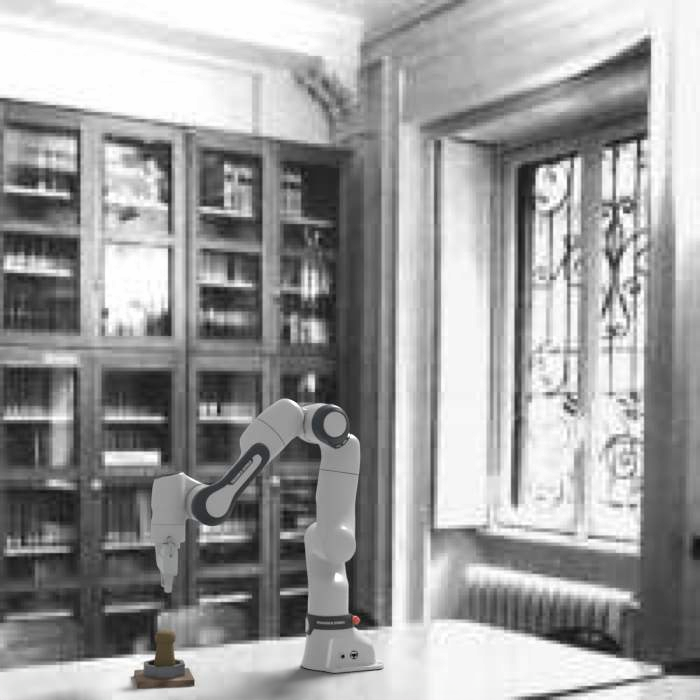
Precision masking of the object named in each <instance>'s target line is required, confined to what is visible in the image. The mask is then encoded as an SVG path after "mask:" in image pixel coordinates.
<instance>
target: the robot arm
mask: <svg viewBox="0 0 700 700" xmlns="http://www.w3.org/2000/svg"><path fill="white" fill-rule="evenodd" d="M349 419H350V418H349V417H348V415H347V413H346V411H345V410H344V409H343V408H341V406H340V407H339V406H338V405H335V404H331V403H330V404H329V403H321V402H320V403H313V404H304V405H299V404H298V403H297V402H295V400H292V399H289V398H280V399H279V400H277V401H275V402H274V403H273V404H271V405H269V406H268V407H267V408H266V409H264V410H263V411H262V412H261V413H260V414H258V415H257V417H255V418H254V419H253V420H252V422H251V423H250V424H249V425H248V426H247V427H246V429H245V430H244V431H243V432H242V434H241V436H240V438H239V448H240V455H239V457H238V459H237V460H236V462H235V463H234V464H233V465H232V466H231V467H230V469H229V470H227V472H226V473H225V474H224V475H223V476H222V478H221V479H220V480H218V481H216V482H214V483H212V484H210V485H209V484H205V483H203V482H200V481H198V480H195V479H194V478H192V477H190V476H188V475H186V473H185V472H183V471H181V470H179V471H178V470H175V471H167V472H162V473H160V474H158V475H157V476H155V478H154V480H153V484H152V490H151V503H150V505H151V506H150V507H151V510H152V511H151V512H152V516H151V517H152V518H151V520H150V537H149V538H150V539H149V541H150V543H154V548H155V549H154V550H155V560H156V562H155V563H156V566H157V567H158V569H159V571H160V578H161V579H160V580H161V581H160V582H161V583H160V586H161V587H162V588H163V591H164V593H167V594H169V593H172V592H173V583H174V577H176V576H178V571H179V568H178V567H179V552H178V551H179V550H180V549H181V543H185V542H186V521H187V520H188V519H189V520H190V519H191V520H193V521H196V522H199V523H201V524H202V525H205V526H208V527H217V526H220V525H222V524H223V523H225V522H226V521H227V520H228V519H229V518H230V516H231V514H232V513H233V511H234V507H235V506H236V503H237V501H238V498H239V497H240V496H241V495H242V494H243V493H244V492H245V490H246V489H247V488H248V487H249V486H250V484H251V483H252V482H253V481H254V480H255V479H256V478H257V476H258V475H259V474H260V473H261V471H263V469H264V468H265V467H266V466H267V465H268V464H269V463H271V461H272V460H274V458H275V457H277V456H278V454H280V452H282V451H283V450H284V449H285V448H286V447H287V445H288V444H289V443H290V442H291V441H292V440H293V439H295V438H296V439H298V440H299V441H301V442H305V443H310V444H315V445H318V446H319V448H320V453H321V455H320V456H321V460H320V464H319V471H318V479H317V485H316V493H315V502H316V503H315V505H316V506H315V507H316V521H315V522H313V523H312V524H310V525H309V526H308V527H307V529H306V530H305V532H304V536H303V541H304V549H305V562H306V572H307V573H306V574H307V589H308V592H307V593H308V595H307V596H308V597H307V599H308V600H307V612H306V616H305V634H306V637H305V638H306V640H305V647H304V652H303V657H302V660H301V662H300V666H301V667H303V668H306V669H309V670H314V671H322V672H326V673H327V672H328V673H333V674H335V673H337V674H338V673H348V672H359V671H371V670H380V669H383V668H384V662H383V660H382V659H380V658H378V657H377V656H376V649H375V647H374V644H373V642H372V641H371V639H369V637H367V636H366V635H365V634H364V633H363V632H361V631H360V630H359V629H358V628H356V627H355V625H359V623H360V622H361V619H360V618H359V616H357V615H353V614H352V613H350V612H349V581H348V577H347V572H346V571H347V570H346V562H349V561H350V560H351V559H352V557H353V556H354V555H355V553H356V549H357V542H356V498H357V490H358V483H359V474H360V469H361V468H360V467H361V444H360V440H359V439H358V437H356V436H355V435H354V434H352V429H351V426H350V420H349ZM178 549H179V550H178Z"/></svg>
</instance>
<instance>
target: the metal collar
mask: <svg viewBox="0 0 700 700" xmlns="http://www.w3.org/2000/svg"><path fill="white" fill-rule="evenodd" d="M154 660H155V658H153V659H150V660H145V661H143V669H142V670H143V674H144V677H145V678H151V679H175V678H179V677H182V676H185V668H186V663H185V661H184V659H183V660H182V659H178V658H177V659H176V658H175V665H173V666H154Z"/></svg>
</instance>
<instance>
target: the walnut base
mask: <svg viewBox="0 0 700 700" xmlns="http://www.w3.org/2000/svg"><path fill="white" fill-rule="evenodd" d="M133 672H134V673H133V677H134V680H135V684H136V687H137V689H152V688H153V689H155V688H178V687H193V686H194V687H195V678H194V676H193V673H192V671H191V669H190V668H189V667H185V676H182V677H179V678H175V679H151V678H145V677H144V674H143V669H134V671H133Z"/></svg>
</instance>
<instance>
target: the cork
mask: <svg viewBox="0 0 700 700" xmlns="http://www.w3.org/2000/svg"><path fill="white" fill-rule="evenodd" d="M154 640H155V643H156V648H155V655H154V659H155V660H154V666H173V665H175V659H176V658H175V649H174V647H175V646H174V643H175V641H176V633H175V632H174V631H173V630H169V629H166V630H165V629H164V630H160V631H159V630H158V631H157V632H156V633H155V635H154Z"/></svg>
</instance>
